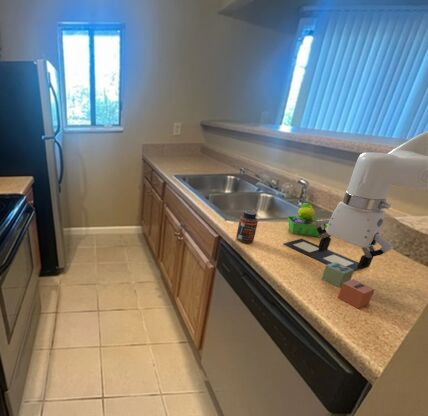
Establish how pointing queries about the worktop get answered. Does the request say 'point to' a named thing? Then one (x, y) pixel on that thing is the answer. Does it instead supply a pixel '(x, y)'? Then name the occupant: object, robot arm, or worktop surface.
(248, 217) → the supplement bottle
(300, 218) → the fruit basket
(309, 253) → the word mat
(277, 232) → the worktop surface
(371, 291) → the block
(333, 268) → the block
